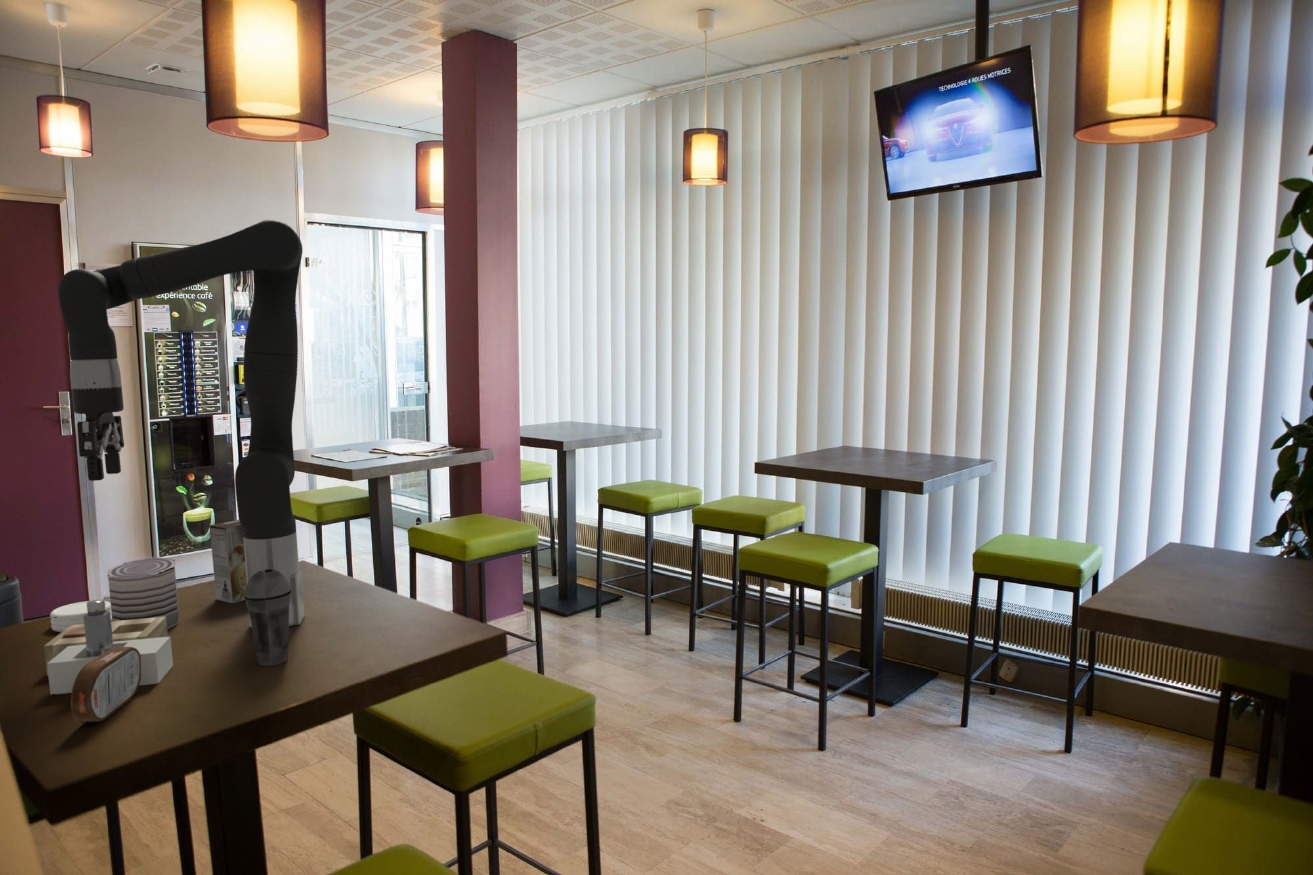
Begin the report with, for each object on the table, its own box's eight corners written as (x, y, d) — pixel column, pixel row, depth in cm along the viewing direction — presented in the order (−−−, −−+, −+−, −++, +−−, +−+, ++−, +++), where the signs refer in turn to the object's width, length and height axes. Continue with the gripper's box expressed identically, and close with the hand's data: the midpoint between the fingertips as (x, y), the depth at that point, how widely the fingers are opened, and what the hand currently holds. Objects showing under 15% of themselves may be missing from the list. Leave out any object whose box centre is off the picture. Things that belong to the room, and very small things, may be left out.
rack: (173, 665, 146) (170, 636, 146) (158, 683, 138) (155, 652, 138) (71, 675, 143) (68, 646, 142) (50, 694, 135) (47, 663, 134)
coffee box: (255, 588, 192) (249, 516, 190) (272, 592, 189) (267, 519, 187) (214, 599, 184) (208, 524, 183) (232, 604, 181) (226, 527, 179)
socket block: (168, 643, 157) (166, 616, 157) (149, 665, 147) (146, 636, 146) (73, 652, 154) (71, 625, 153) (47, 675, 143) (44, 645, 143)
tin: (126, 690, 136) (121, 637, 135) (148, 689, 136) (143, 636, 135) (70, 733, 121) (64, 674, 120) (94, 732, 121) (89, 673, 120)
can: (194, 618, 172) (189, 558, 171) (151, 637, 161) (145, 573, 160) (143, 616, 174) (137, 557, 173) (97, 635, 163) (91, 572, 162)
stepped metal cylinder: (119, 675, 142) (112, 597, 141) (111, 683, 139) (104, 603, 137) (94, 678, 142) (87, 599, 140) (86, 686, 138) (78, 605, 137)
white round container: (47, 636, 164) (45, 618, 163) (56, 622, 173) (54, 604, 172) (110, 627, 168) (108, 609, 168) (115, 613, 177) (113, 596, 177)
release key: (101, 650, 152) (98, 625, 151) (92, 658, 148) (90, 632, 147) (75, 653, 151) (72, 627, 150) (65, 661, 147) (63, 635, 146)
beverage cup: (306, 655, 149) (297, 540, 147) (274, 671, 143) (265, 550, 140) (271, 651, 152) (263, 537, 150) (239, 666, 145) (229, 547, 143)
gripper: (105, 386, 148) (114, 481, 150) (133, 383, 162) (141, 470, 164) (55, 388, 147) (65, 484, 148) (88, 384, 160) (96, 472, 162)
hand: (105, 476), depth 156 cm, fingers open, 8 cm apart
